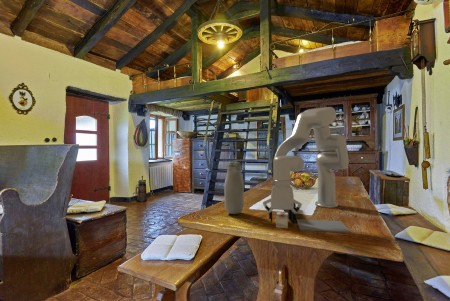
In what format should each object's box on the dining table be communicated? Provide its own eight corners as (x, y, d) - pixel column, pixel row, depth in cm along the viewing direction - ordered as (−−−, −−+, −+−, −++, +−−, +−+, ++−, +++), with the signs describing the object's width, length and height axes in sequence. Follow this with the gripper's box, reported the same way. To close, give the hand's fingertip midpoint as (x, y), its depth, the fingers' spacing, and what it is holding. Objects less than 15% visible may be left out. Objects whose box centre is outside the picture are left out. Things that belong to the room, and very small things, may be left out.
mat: (296, 220, 113) (296, 219, 113) (340, 222, 109) (341, 221, 109) (299, 230, 100) (299, 228, 100) (350, 232, 96) (350, 231, 96)
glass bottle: (222, 215, 123) (221, 161, 122) (229, 210, 132) (229, 160, 131) (239, 217, 119) (239, 162, 118) (246, 212, 128) (246, 160, 127)
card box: (277, 221, 113) (277, 211, 113) (287, 222, 111) (287, 212, 111) (275, 227, 104) (275, 217, 104) (287, 228, 103) (287, 217, 103)
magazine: (297, 205, 107) (287, 177, 135) (290, 205, 107) (281, 177, 136) (295, 236, 112) (286, 203, 140) (288, 236, 112) (280, 203, 141)
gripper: (262, 184, 105) (262, 222, 106) (302, 185, 102) (303, 224, 102) (262, 182, 113) (263, 217, 113) (300, 182, 109) (300, 219, 110)
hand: (282, 220), depth 108 cm, fingers open, 9 cm apart
